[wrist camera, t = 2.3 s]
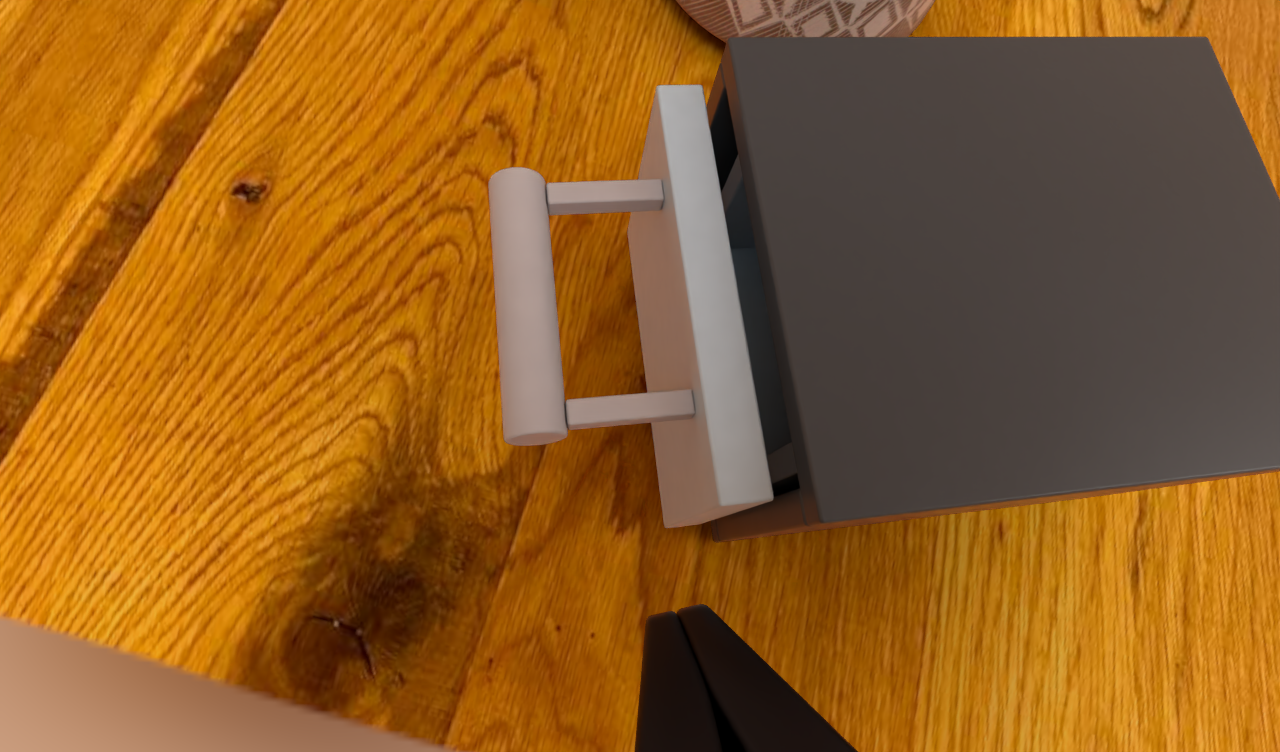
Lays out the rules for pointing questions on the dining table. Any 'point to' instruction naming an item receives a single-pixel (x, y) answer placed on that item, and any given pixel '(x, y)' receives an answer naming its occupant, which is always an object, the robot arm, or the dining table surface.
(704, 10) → the planter
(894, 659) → the dining table surface
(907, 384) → the dark grey cabinet
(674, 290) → the drawer
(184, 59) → the dining table surface
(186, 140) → the dining table surface
